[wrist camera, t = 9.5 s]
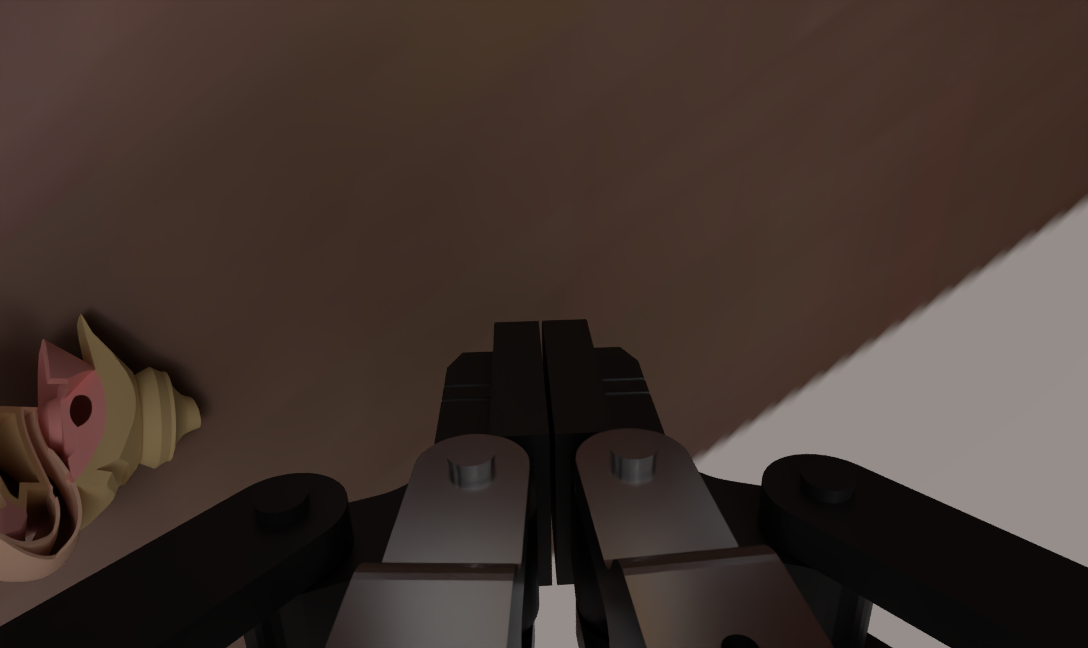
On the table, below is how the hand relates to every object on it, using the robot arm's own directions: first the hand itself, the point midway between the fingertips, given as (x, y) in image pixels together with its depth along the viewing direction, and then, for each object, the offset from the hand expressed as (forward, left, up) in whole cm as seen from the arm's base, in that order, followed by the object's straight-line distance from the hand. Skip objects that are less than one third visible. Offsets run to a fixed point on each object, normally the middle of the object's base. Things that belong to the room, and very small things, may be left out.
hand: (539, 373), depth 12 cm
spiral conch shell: (+10, -19, -17) cm, 27 cm away
